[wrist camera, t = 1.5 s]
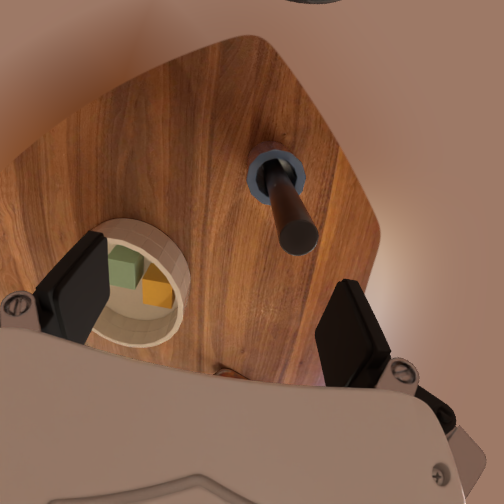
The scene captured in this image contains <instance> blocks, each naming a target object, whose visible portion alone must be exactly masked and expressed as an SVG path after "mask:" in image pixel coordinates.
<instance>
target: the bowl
mask: <svg viewBox="0 0 504 504" xmlns="http://www.w3.org/2000/svg"><path fill="white" fill-rule="evenodd" d="M92 231H96V232H101V233H103V234H104V237H106V238H107V241H108V254H109V253H110V252H111V251H112V249H113V248H114V247H115V246H116V245H123V246H125V247H127V248H130V249H132V250H134V251H137V252H139V253H140V254H141V255H143V256H144V274H145V273H146V271H147V269H148V267H149V265H150V263H154V264H155V265H156V266H157V267H158V268H159V269H160V271H161V272H162V273H163V274H164V275H165V276H166V277H167V279H168V281H169V283H170V284H171V286H172V288H173V290H174V292H175V296H176V298H175V301H174V304H173V307H172V309H168V308H163V307H158V306H153V305H148V304H143V294H142V278H143V276H144V274H143V276H142V278H141V280H140V281H139V283H138V285H137V287H136V289H135V290H133V289H128V288H123V287H118V286H113V285H110V297H109V300H108V302H107V303H106V305H105V307H104V309H103V310H102V312H101V314H100V316H99V318H98V319H97V321H96V323H95V325H94V327H93V328H92V331H94V332H95V333H97V334H98V335H100V336H101V337H103V338H105V339H107V340H109V341H112V342H114V343H117V344H120V345H124V346H128V347H141V348H146V347H151V346H156V345H159V344H161V343H163V342H165V341H167V340H169V339H170V338H171V337H172V336H173V335H174V334H175V333H176V332H177V331H178V328H179V326H180V324H181V322H182V319H183V316H184V312H185V308H186V304H187V301H188V297H189V291H190V282H191V279H190V272H189V268H188V265H187V262H186V260H185V258H184V256H183V254H182V252H181V251H180V249H179V248H178V247H177V245H176V244H175V243H174V242H173V241H172V240H171V239H170V238H169V237H168V236H167V235H166V234H164V233H163V232H162V231H160V230H159V229H157V228H156V227H154V226H152V225H150V224H148V223H145V222H142V221H139V220H134V219H127V218H120V219H113V220H109V221H106V222H103V223H101V224H100V225H98V226H97V227H95V228H94V229H93V230H92Z"/></svg>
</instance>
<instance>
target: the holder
mask: <svg viewBox="0 0 504 504" xmlns="http://www.w3.org/2000/svg"><path fill="white" fill-rule="evenodd" d="M274 158H277V159H278V160H279V162H280V163H281V165H282V167H283V169H284V170H285V172H286V174H287V175H288V177H289V179H290V181H291V182H292V184H293V186H294V188H295V190H296V191H297V193H298V195H300V194H301V193H302V191H303V187H304V183H305V179H306V175H305V172H304V168H303V165H302V163H301V161H300V160H299V159H298V158H297V157H296V156H295V155H294V154H293V153H292V152H291V151H290V150H289V149H288V148H286V147H285V146H284V145H283V144H282V143H279V142H276V141H264V142H261V143H259V144H257V145H256V146H255V147H254V148H253V149H252V150H251V152H250V153H249V156H248V161H247V175H246V181H247V184H248V187H249V189H250V192H251V194H252V195H253V196H254V197H255V198H256V199H258V200H259V201H260V202H261V203H263V204H266V205H271V202H270V198H269V194H268V189H267V185H266V181H265V177H264V172H263V168H262V164H263V163H264V162H265V161H268V160H271V159H274Z"/></svg>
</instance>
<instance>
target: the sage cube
mask: <svg viewBox="0 0 504 504" xmlns="http://www.w3.org/2000/svg"><path fill="white" fill-rule="evenodd" d="M108 266H109V282H110V285H113V286H118V287H123V288H128V289H133V290H135V289H136V287H137V285H138V283H139V281H140V280H141V278H142V276H143V274H144V256H143V255H141V254H140V253H139V252H137V251H134V250H132V249H130V248H127V247H125V246H123V245H116V246H115V247H114V248H113V249H112V251H111V252H110V253H109V254H108Z"/></svg>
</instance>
